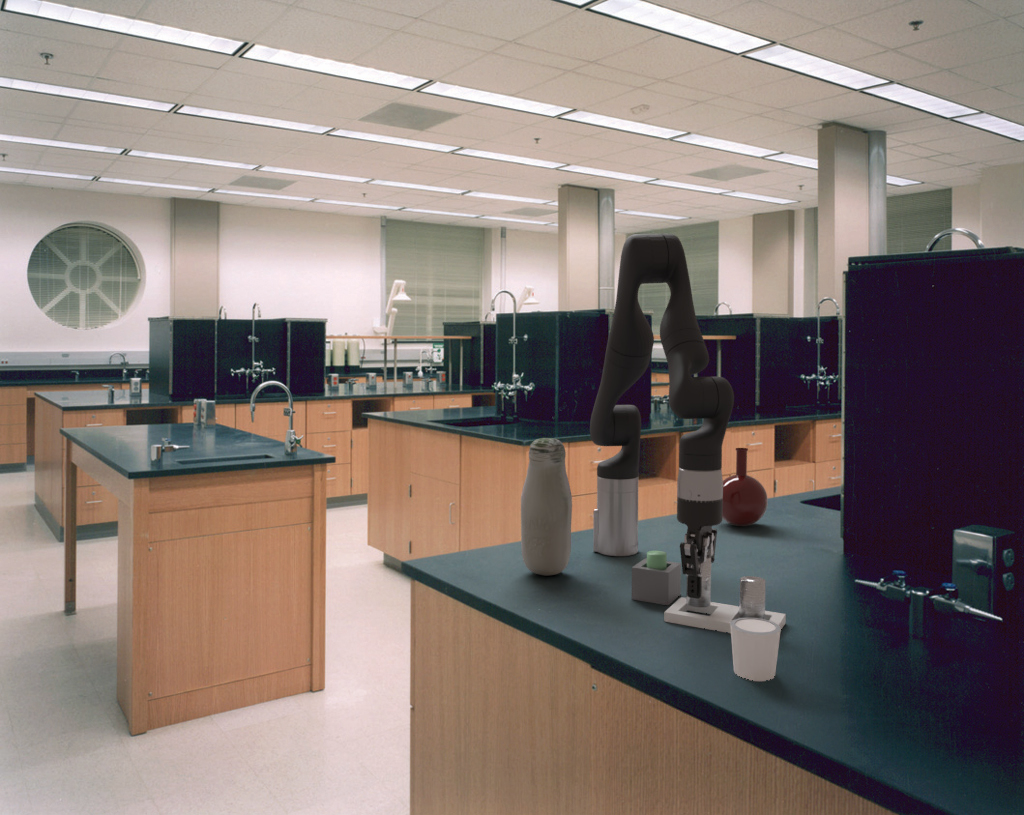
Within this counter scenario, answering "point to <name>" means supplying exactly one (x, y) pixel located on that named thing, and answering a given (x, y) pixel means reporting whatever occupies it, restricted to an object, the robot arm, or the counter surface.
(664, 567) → the button
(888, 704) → the counter surface
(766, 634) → the white cup
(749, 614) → the seated billet
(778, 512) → the counter surface
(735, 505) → the round-bottom flask
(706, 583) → the cylinder
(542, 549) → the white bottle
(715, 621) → the grey flat frame
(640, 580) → the grey square holder
